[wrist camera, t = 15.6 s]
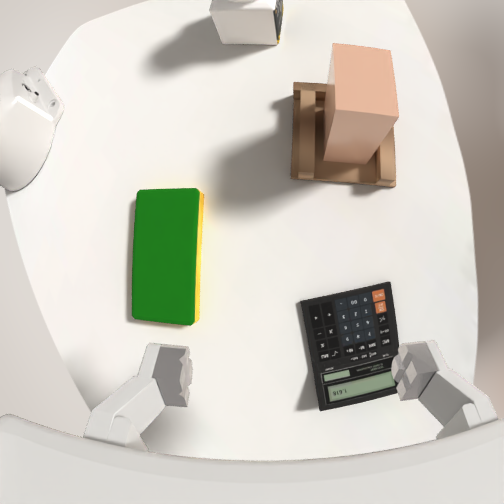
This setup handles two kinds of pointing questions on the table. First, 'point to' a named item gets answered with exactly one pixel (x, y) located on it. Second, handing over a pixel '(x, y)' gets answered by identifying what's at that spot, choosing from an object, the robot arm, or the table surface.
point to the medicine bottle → (248, 21)
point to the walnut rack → (311, 145)
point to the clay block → (358, 103)
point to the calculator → (352, 345)
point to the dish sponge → (167, 255)
